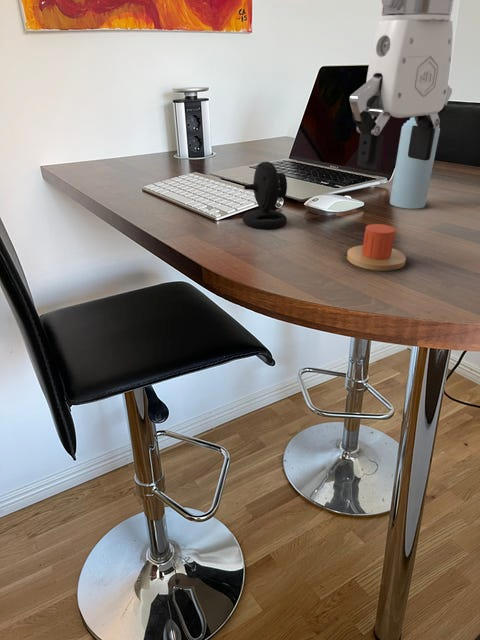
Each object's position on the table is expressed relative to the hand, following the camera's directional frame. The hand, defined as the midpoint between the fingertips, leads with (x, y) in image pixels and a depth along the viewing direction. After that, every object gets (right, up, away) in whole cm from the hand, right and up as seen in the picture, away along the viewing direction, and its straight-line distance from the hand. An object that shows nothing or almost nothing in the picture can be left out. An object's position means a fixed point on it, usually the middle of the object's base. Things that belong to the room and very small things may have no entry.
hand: (394, 163), depth 64 cm
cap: (-1, -11, +6) cm, 12 cm away
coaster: (-1, -12, +6) cm, 13 cm away
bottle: (+13, +2, +32) cm, 35 cm away
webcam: (-16, -4, +20) cm, 26 cm away
